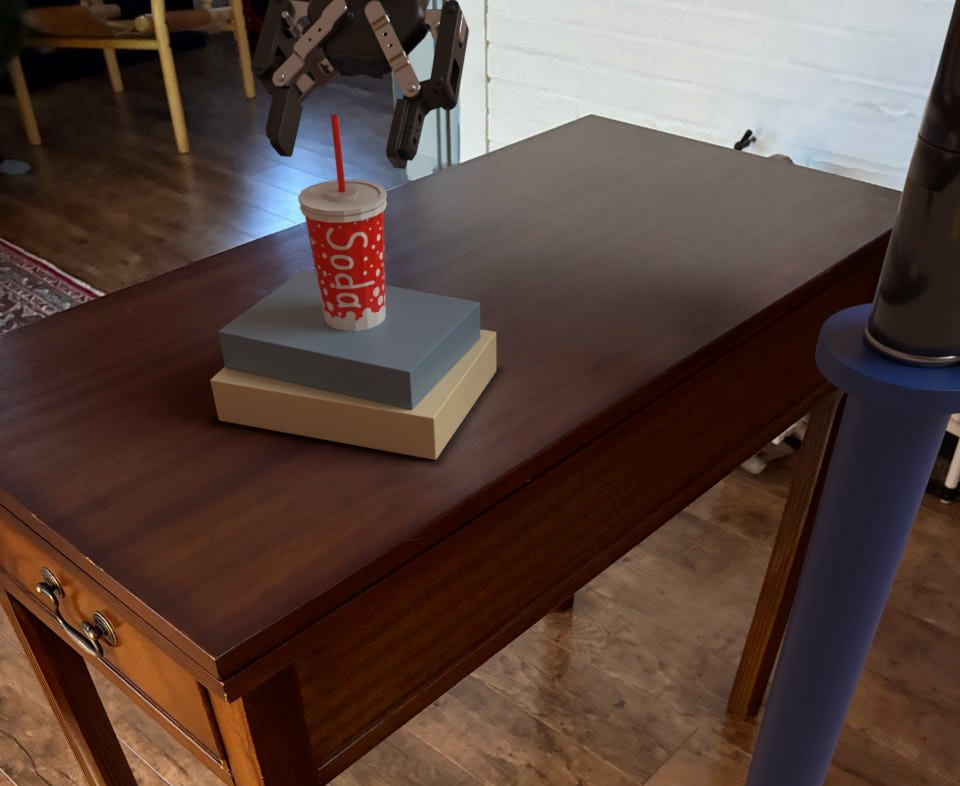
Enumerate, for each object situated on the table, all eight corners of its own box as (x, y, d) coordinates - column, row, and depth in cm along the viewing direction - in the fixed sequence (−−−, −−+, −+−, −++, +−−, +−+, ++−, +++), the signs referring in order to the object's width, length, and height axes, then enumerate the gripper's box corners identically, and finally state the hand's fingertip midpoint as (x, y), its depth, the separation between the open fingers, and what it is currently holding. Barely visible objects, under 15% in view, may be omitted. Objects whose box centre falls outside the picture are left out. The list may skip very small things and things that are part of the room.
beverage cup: (301, 330, 74) (272, 126, 65) (332, 295, 79) (309, 99, 69) (379, 340, 73) (361, 133, 64) (406, 304, 77) (393, 105, 68)
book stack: (496, 371, 83) (496, 295, 78) (436, 460, 73) (432, 379, 69) (300, 340, 87) (289, 266, 83) (218, 420, 78) (201, 342, 73)
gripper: (270, -124, 66) (216, 117, 66) (475, -119, 62) (418, 135, 62) (315, -42, 73) (267, 175, 73) (502, -34, 70) (451, 194, 70)
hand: (337, 156), depth 68 cm, fingers open, 8 cm apart
